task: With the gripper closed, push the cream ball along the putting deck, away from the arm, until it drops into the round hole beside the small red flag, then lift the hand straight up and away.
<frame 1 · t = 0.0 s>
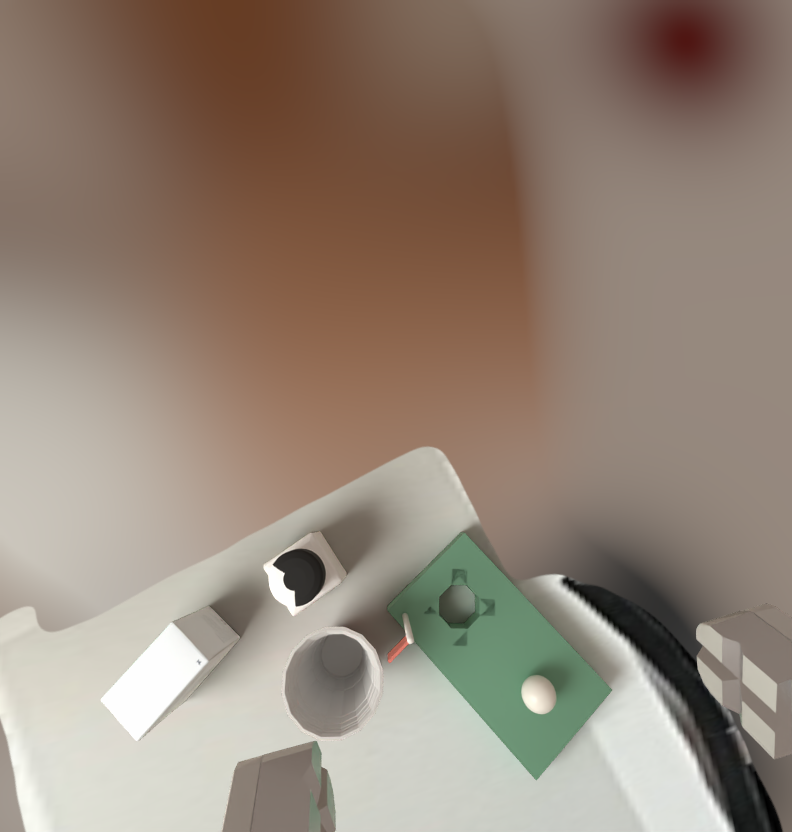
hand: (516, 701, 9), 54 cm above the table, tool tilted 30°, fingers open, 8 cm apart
skincare box: (195, 652, 59), on the table
ball: (538, 694, 54), point 5 cm above the table, touching putting deck
medicine bottle: (311, 567, 61), on the table
putting deck: (492, 643, 60), on the table
plastic cup: (342, 650, 59), on the table
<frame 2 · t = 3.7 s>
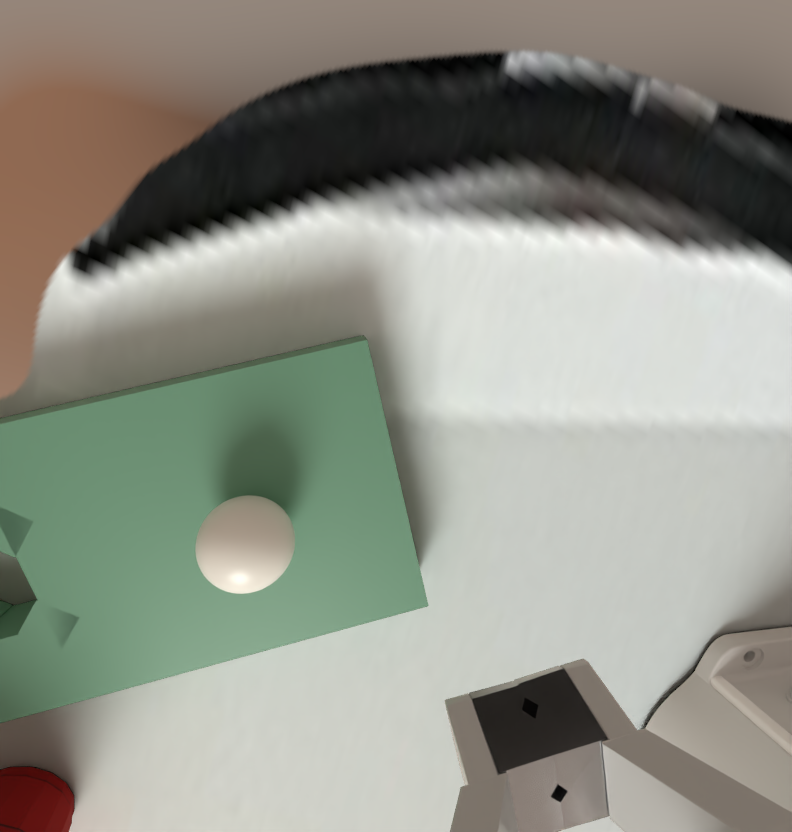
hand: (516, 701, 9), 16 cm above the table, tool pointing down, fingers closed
ball: (246, 543, 19), point 5 cm above the table, touching putting deck
putting deck: (151, 523, 24), on the table
plastic cup: (22, 797, 27), on the table
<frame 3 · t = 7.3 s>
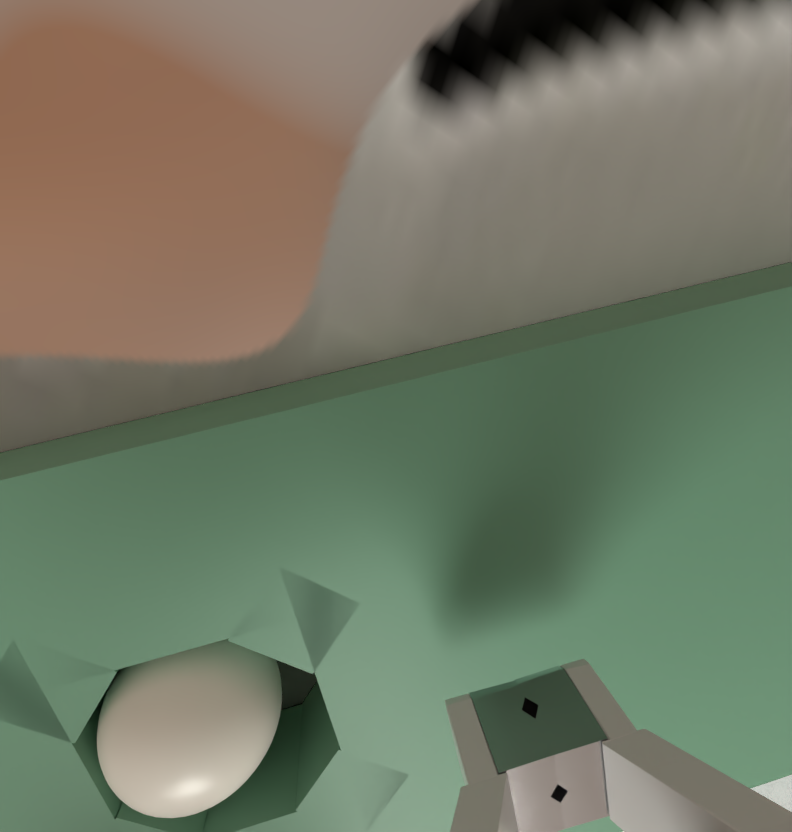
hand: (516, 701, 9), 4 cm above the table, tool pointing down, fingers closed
ball: (196, 706, 11), point 2 cm above the table, tilted 78°
putting deck: (473, 579, 13), on the table
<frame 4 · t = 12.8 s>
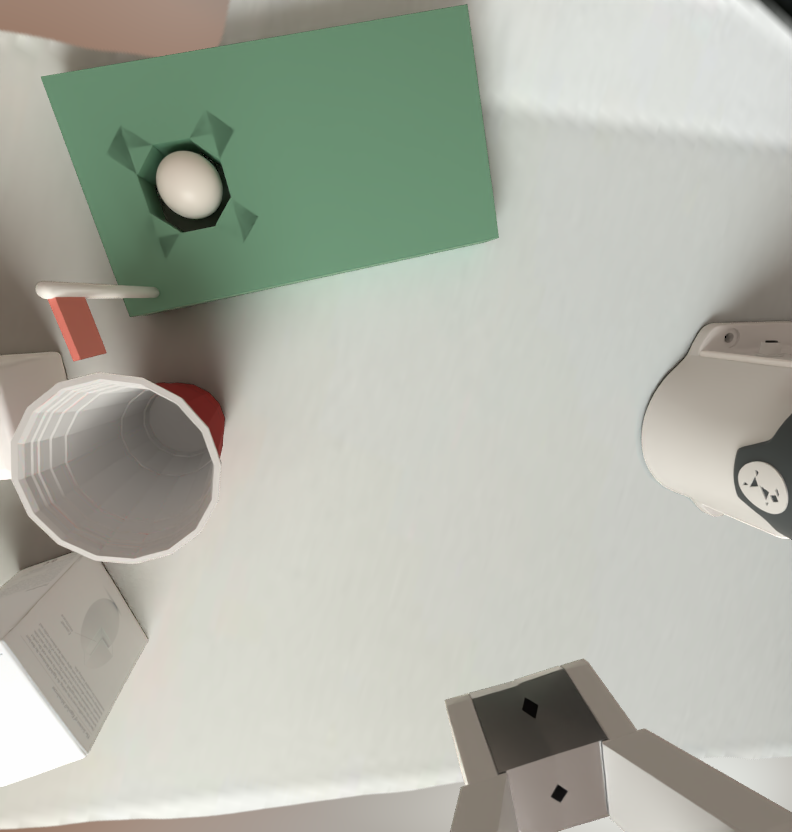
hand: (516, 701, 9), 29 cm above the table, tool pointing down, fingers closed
skincare box: (87, 606, 38), on the table
ball: (190, 185, 30), point 2 cm above the table, tilted 57°
medicine bottle: (23, 401, 34), on the table
putting deck: (296, 177, 32), on the table
plastic cup: (184, 416, 35), on the table
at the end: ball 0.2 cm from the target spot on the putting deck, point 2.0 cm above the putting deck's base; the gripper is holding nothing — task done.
